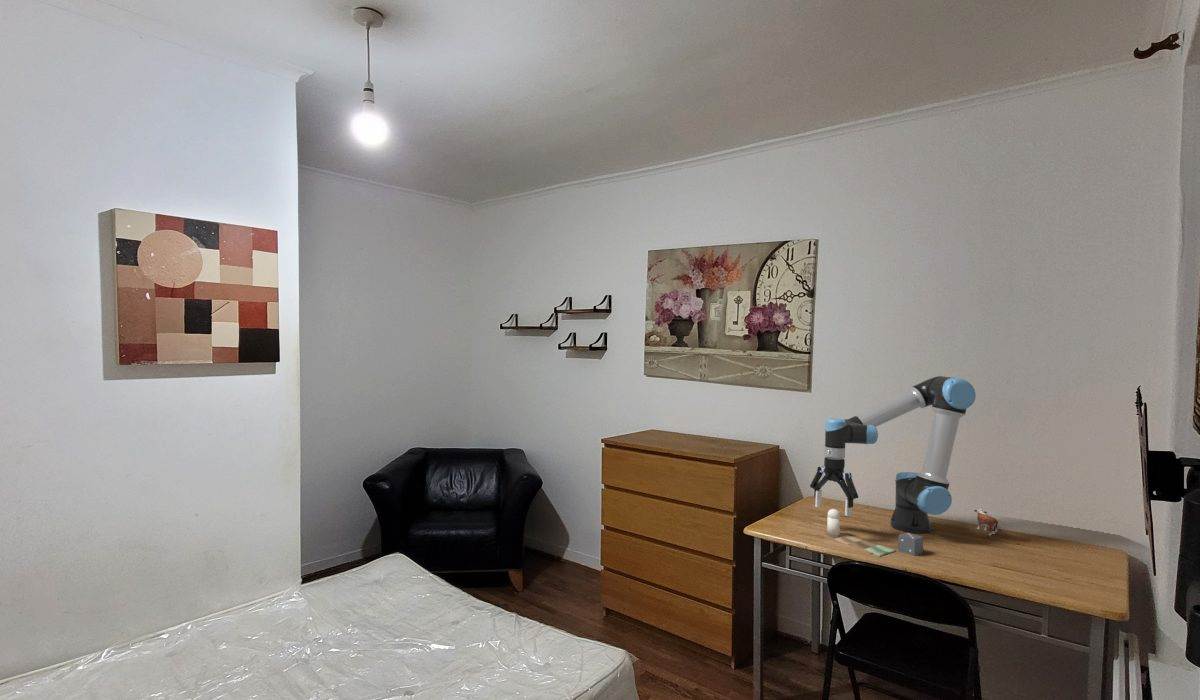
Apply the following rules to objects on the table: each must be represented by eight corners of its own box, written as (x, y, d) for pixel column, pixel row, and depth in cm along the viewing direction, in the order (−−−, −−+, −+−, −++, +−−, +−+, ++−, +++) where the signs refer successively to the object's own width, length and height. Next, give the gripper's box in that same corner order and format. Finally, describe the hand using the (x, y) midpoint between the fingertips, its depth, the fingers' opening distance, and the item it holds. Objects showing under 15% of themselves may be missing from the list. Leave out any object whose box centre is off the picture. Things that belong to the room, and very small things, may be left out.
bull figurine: (982, 526, 251) (982, 507, 251) (1000, 537, 237) (1000, 517, 237) (971, 526, 251) (971, 507, 251) (988, 536, 238) (989, 516, 238)
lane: (834, 532, 241) (834, 530, 241) (895, 551, 220) (895, 549, 220) (818, 536, 236) (818, 534, 236) (879, 556, 214) (879, 554, 214)
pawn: (831, 532, 239) (832, 506, 239) (842, 535, 235) (842, 509, 235) (824, 534, 237) (825, 508, 237) (834, 537, 233) (835, 511, 233)
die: (906, 548, 224) (907, 531, 224) (922, 552, 219) (923, 536, 219) (897, 551, 220) (898, 534, 220) (914, 556, 215) (914, 539, 215)
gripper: (802, 452, 244) (800, 504, 244) (857, 464, 223) (855, 520, 223) (814, 451, 248) (812, 502, 248) (869, 462, 227) (867, 517, 227)
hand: (832, 510), depth 236 cm, fingers open, 13 cm apart
